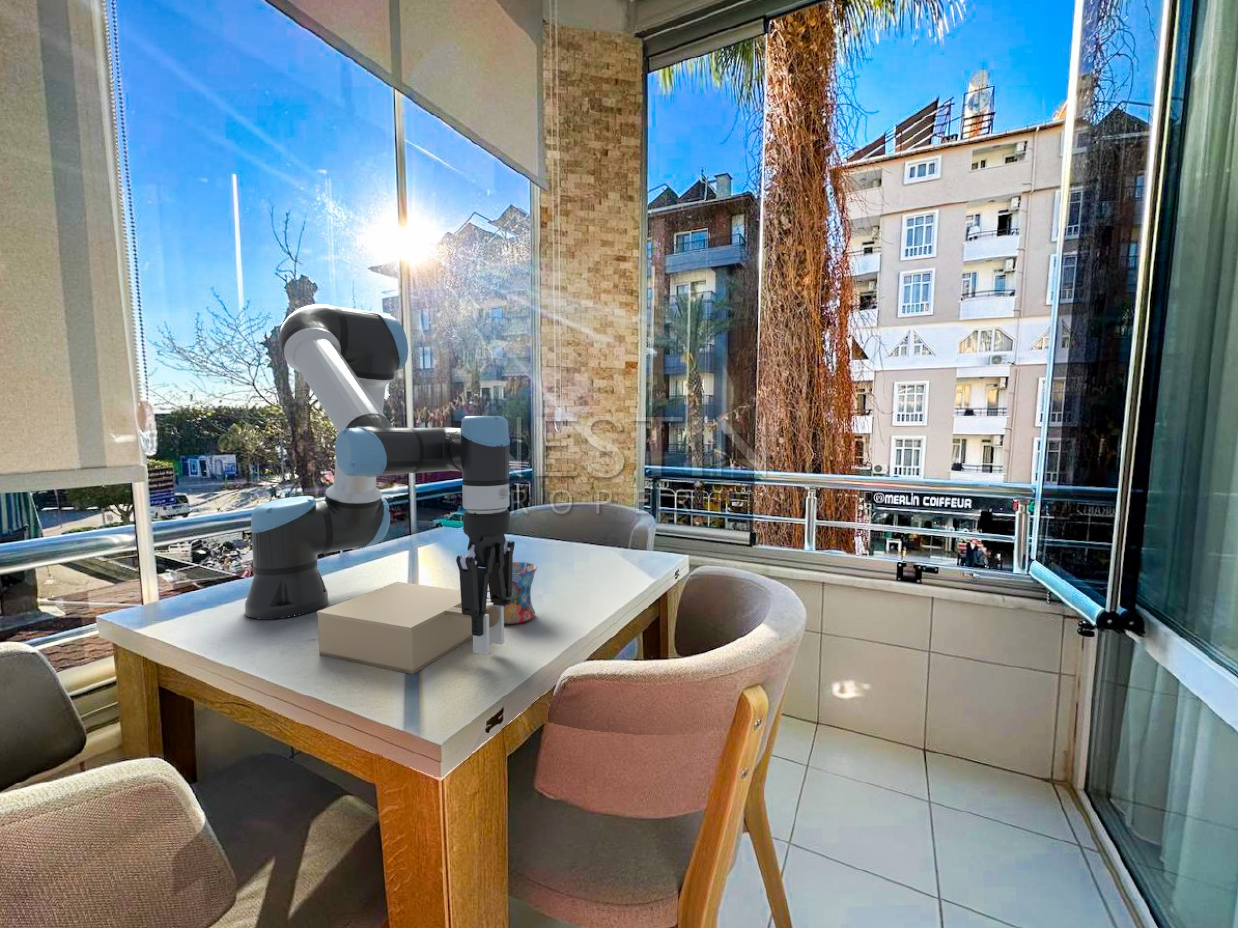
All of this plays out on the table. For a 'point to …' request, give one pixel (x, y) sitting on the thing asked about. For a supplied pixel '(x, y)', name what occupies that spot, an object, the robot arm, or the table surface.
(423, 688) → the table surface
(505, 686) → the table surface
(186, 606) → the table surface
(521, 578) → the mug
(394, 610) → the lid
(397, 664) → the box
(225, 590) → the table surface
